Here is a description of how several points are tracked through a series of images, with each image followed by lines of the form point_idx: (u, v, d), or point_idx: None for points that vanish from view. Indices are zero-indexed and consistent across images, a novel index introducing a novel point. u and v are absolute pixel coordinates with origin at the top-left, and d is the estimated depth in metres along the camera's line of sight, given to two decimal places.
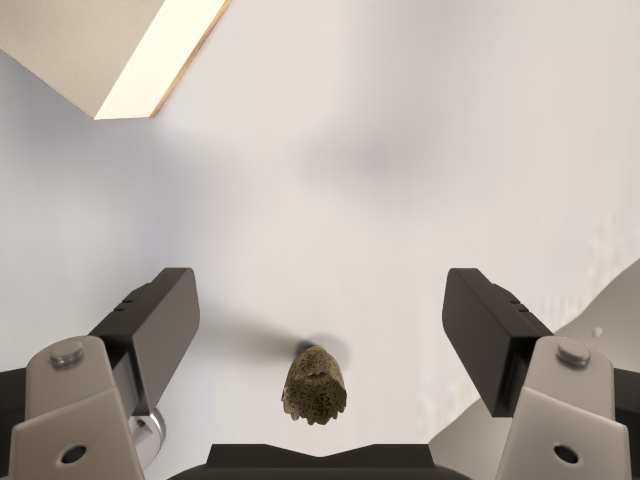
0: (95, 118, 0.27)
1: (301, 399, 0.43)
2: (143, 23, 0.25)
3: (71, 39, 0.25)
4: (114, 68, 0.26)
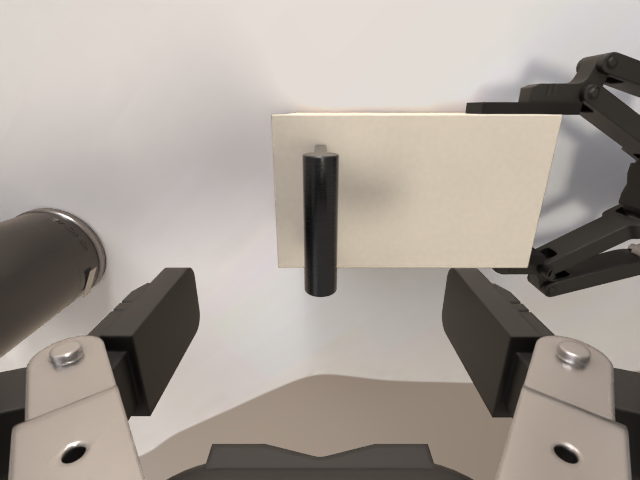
0: None
1: None
2: (428, 122, 0.21)
3: (488, 177, 0.23)
4: (491, 124, 0.21)
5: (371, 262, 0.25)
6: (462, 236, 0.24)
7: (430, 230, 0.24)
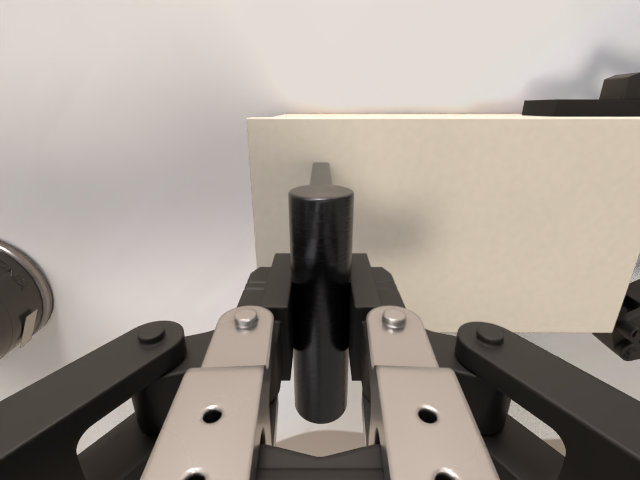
0: None
1: None
2: (483, 129, 0.14)
3: (566, 210, 0.15)
4: (578, 133, 0.14)
5: None
6: (523, 291, 0.17)
7: (478, 283, 0.17)
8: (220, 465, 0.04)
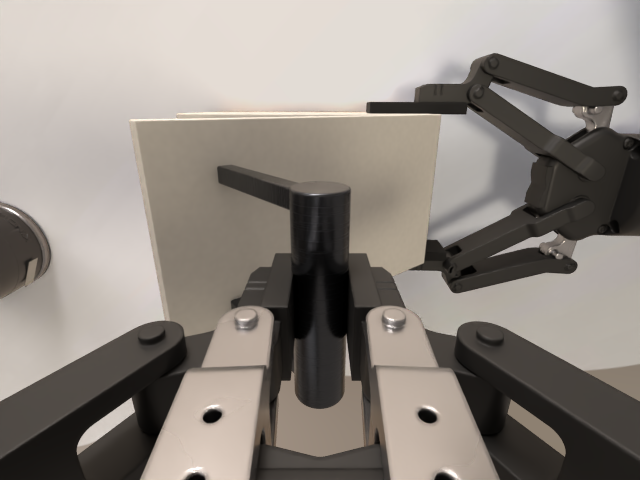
0: (438, 114, 0.22)
1: None
2: (346, 125, 0.17)
3: (396, 182, 0.21)
4: (397, 126, 0.20)
5: None
6: (380, 249, 0.22)
7: (354, 251, 0.20)
8: (220, 465, 0.04)
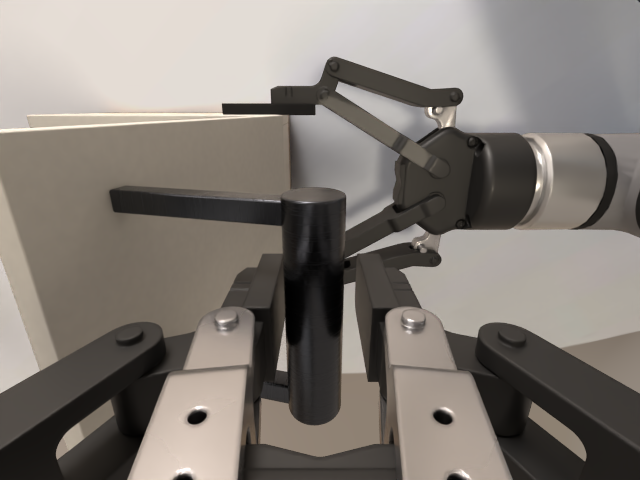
0: (280, 115, 0.23)
1: None
2: (222, 129, 0.16)
3: (262, 184, 0.21)
4: (257, 127, 0.19)
5: None
6: (259, 253, 0.21)
7: (243, 261, 0.19)
8: (207, 465, 0.04)
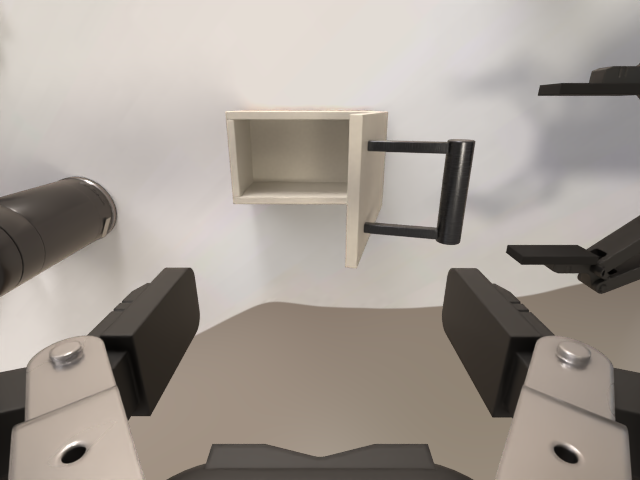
0: None
1: None
2: (379, 118, 0.30)
3: (382, 153, 0.35)
4: (383, 118, 0.33)
5: (369, 233, 0.30)
6: (378, 195, 0.35)
7: (376, 196, 0.33)
8: None
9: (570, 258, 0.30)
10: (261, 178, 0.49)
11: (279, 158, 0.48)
